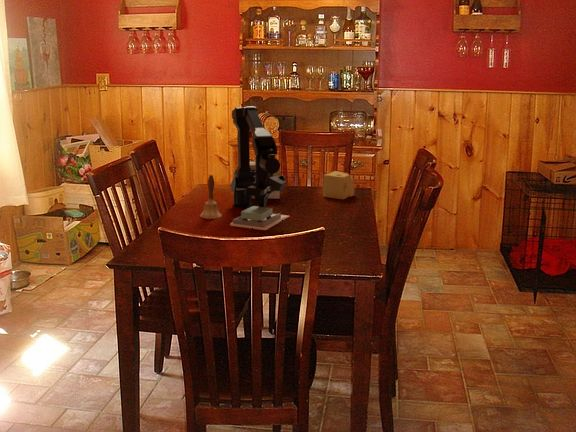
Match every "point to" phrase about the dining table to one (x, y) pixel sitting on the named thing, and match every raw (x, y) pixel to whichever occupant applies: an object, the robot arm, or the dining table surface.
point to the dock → (259, 225)
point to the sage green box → (257, 213)
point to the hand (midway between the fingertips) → (262, 210)
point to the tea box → (275, 193)
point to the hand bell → (210, 203)
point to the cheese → (338, 185)
